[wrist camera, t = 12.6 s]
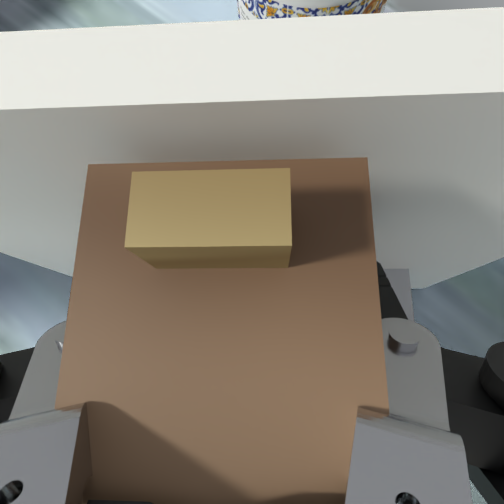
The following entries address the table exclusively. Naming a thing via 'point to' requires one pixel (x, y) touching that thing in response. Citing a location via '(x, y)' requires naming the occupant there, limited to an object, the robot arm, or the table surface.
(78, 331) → the brown tall block
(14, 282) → the table surface
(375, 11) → the bath foam
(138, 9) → the table surface
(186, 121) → the wall shelf
